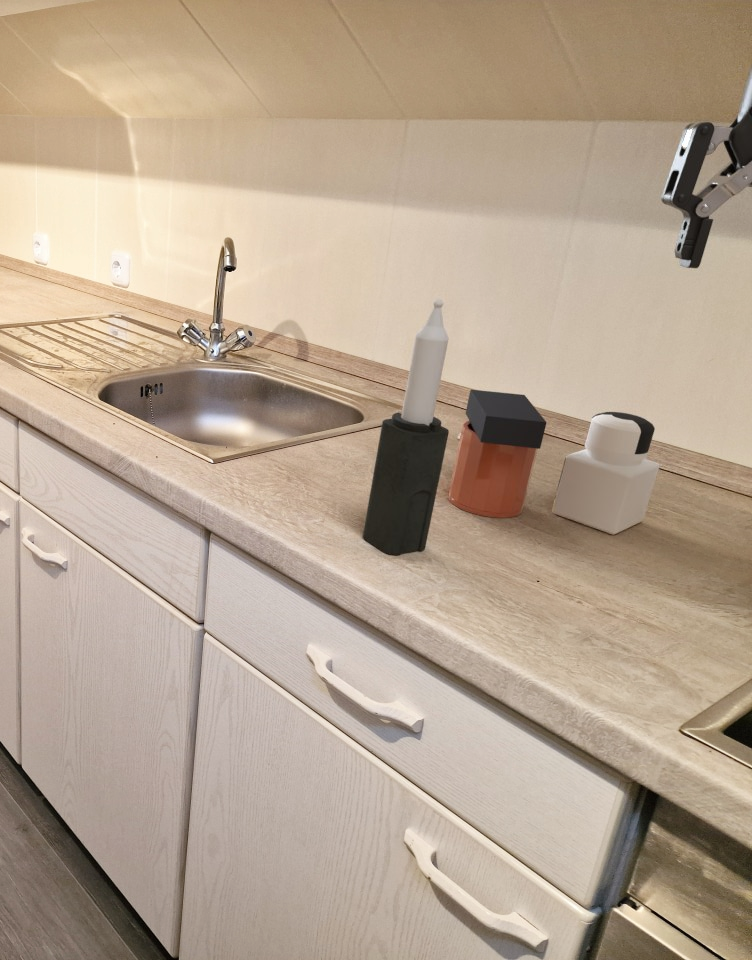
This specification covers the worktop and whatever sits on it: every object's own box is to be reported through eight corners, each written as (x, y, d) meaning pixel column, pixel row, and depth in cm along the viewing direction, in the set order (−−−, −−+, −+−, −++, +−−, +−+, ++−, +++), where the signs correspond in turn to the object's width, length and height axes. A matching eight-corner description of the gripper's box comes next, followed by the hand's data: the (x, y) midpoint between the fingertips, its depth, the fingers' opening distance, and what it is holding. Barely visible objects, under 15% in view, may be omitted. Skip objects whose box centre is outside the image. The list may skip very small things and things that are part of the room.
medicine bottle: (580, 500, 101) (606, 403, 97) (643, 522, 96) (674, 420, 92) (549, 513, 97) (575, 412, 93) (614, 536, 92) (644, 431, 87)
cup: (514, 495, 102) (531, 424, 98) (528, 522, 95) (547, 445, 91) (444, 487, 103) (458, 416, 100) (453, 512, 96) (469, 437, 93)
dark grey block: (519, 419, 100) (524, 394, 99) (540, 449, 90) (546, 422, 89) (465, 413, 101) (470, 389, 100) (480, 442, 91) (486, 415, 90)
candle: (396, 529, 91) (440, 294, 82) (430, 550, 87) (480, 303, 77) (357, 535, 89) (398, 295, 80) (390, 556, 85) (437, 305, 75)
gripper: (734, 27, 58) (665, 270, 64) (980, 32, 55) (884, 286, 61) (691, 40, 65) (633, 259, 71) (908, 45, 62) (828, 272, 68)
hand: (749, 271), depth 66 cm, fingers open, 8 cm apart
